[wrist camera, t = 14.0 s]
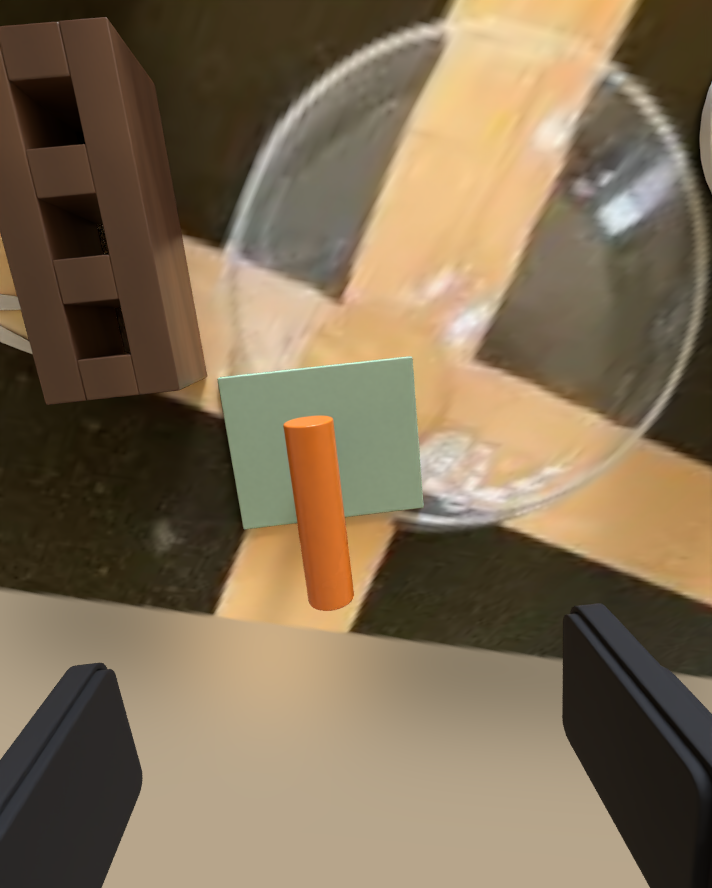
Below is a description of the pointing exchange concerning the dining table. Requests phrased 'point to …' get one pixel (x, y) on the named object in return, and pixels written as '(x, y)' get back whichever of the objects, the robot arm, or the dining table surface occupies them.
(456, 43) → the dining table surface
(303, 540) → the t handle
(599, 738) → the robot arm
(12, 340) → the scissors
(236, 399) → the mat
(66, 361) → the rack
